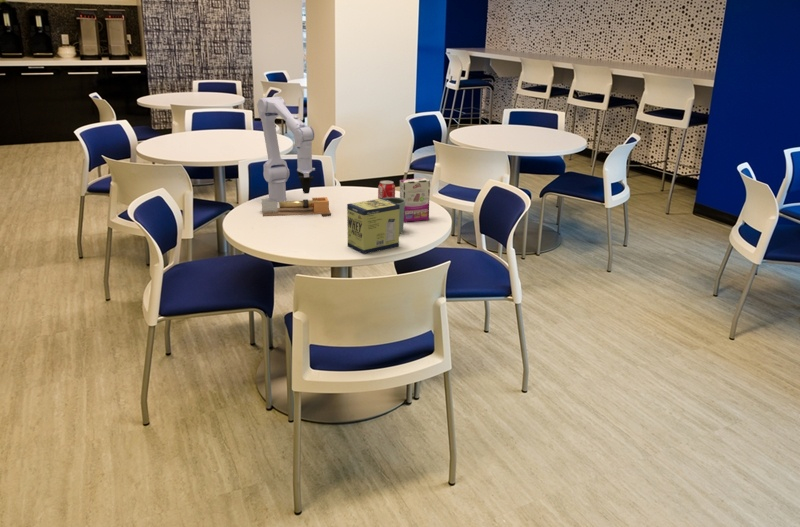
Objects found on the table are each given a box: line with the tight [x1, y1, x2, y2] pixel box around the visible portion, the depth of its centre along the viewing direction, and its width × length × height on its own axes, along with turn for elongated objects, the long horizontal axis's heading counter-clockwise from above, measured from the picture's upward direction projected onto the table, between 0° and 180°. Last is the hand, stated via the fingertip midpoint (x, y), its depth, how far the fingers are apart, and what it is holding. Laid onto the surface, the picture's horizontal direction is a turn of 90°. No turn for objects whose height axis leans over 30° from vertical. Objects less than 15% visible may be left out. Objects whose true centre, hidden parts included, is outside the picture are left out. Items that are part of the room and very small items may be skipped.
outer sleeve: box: [261, 198, 279, 215], centre depth 274 cm, size 5×6×5 cm
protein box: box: [346, 198, 400, 255], centre depth 237 cm, size 10×16×16 cm
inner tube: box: [278, 199, 319, 209], centre depth 276 cm, size 4×16×4 cm, turn 102°
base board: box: [262, 207, 332, 217], centre depth 277 cm, size 12×27×1 cm, turn 103°
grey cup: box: [383, 196, 405, 234], centre depth 255 cm, size 10×10×12 cm
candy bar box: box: [399, 177, 431, 223], centre depth 269 cm, size 11×5×16 cm, turn 112°
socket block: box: [311, 196, 330, 213], centre depth 278 cm, size 7×6×4 cm
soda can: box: [377, 180, 396, 199], centre depth 283 cm, size 7×7×12 cm
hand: (305, 191), depth 275 cm, fingers open, 7 cm apart
